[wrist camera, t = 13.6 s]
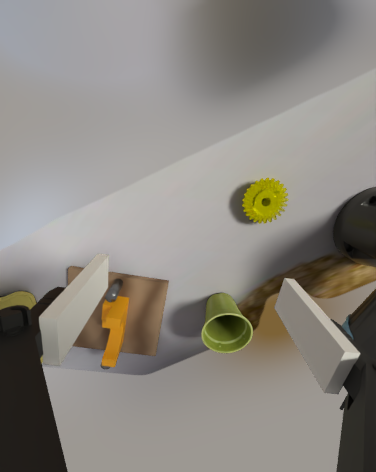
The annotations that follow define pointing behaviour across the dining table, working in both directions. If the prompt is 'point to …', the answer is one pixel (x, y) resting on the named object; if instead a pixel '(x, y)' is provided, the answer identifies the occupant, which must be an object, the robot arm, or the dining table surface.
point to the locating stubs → (113, 297)
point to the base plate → (128, 314)
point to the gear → (271, 203)
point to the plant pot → (225, 325)
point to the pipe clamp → (114, 328)
